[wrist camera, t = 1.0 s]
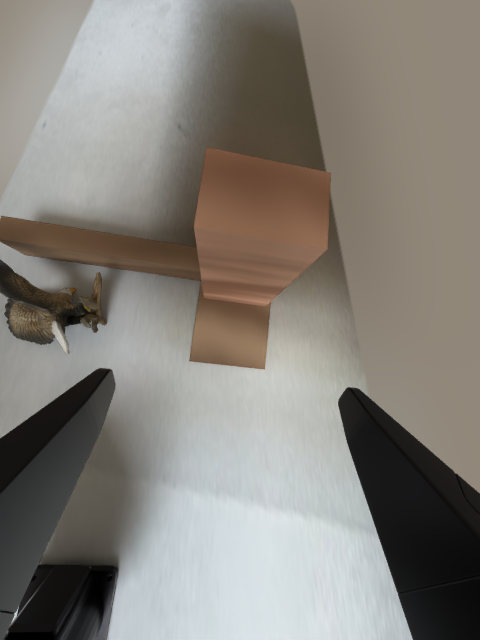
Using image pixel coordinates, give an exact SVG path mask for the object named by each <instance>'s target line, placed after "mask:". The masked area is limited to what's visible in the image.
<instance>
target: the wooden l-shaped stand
mask: <svg viewBox="0 0 480 640" xmlns="http://www.w3.org/2000/svg"><path fill="white" fill-rule="evenodd" d="M330 181H331V173H329V172H324V171H319V170H314V169H310V168H305V167H300V166H295V165H290V164H285V163H281V162H276V161H271V160H266V159H261V158H257V157H252V156H247V155H242V154H237V153H233V152H228V151H223V150H218V149H213V148H209V147H207V148H206V154H205V160H204V167H203V173H202V179H201V185H200V191H199V198H198V204H197V210H196V216H195V223H194V231H195V238H196V245H197V247H191V246H185V245H179V244H173V243H166V242H160V241H154V240H148V239H142V238H135V237H129V236H123V235H117V234H111V233H104V232H98V231H92V230H86V229H80V228H73V227H67V226H61V225H55V224H49V223H42V222H36V221H30V220H24V219H18V218H11V217H5V216H1V219H0V242H2V243H4V244H6V245H8V246H9V247H11V248H13V249H15V250H17V251H19V252H21V253H22V254H24V255H29V256H36V257H43V258H50V259H57V260H63V261H70V262H77V263H84V264H91V265H98V266H104V267H111V268H118V269H125V270H132V271H139V272H145V273H152V274H159V275H166V276H173V277H180V278H186V279H193V280H200V281H201V286H200V293H199V299H198V306H197V313H196V320H195V326H194V333H193V340H192V347H191V353H190V360H189V361H193V362H202V363H212V364H221V365H230V366H239V367H248V368H257V369H265V361H266V350H267V339H268V328H269V317H270V306H271V301H272V300H273V299H274V298H275V297H276V296H277V295H279V294H280V293H281V292H282V291H283V290H284V289H285V288H286V287H287V286H288V285H289V284H290V283H292V282H293V281H294V280H295V279H296V278H297V277H298V276H299V275H300V274H301V273H302V272H303V271H305V270H306V269H307V268H308V267H309V266H310V265H311V264H312V263H313V262H314V261H315V260H316V259H318V258H319V257H320V256H321V255H322V254H323V253H324V252H325V251H326V250H327V245H328V224H329V203H330Z"/></svg>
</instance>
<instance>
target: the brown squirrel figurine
mask: <svg viewBox="0 0 480 640" xmlns="http://www.w3.org/2000/svg"><path fill="white" fill-rule="evenodd" d="M101 286H102V279H101V274H100V273H96V277H95V281H94V287H93V295H92V296H91V297H89V298H83V297H79V298H80V300H81V302H82V303H79V304H76V305H74V304H72V294H73V292H74V291H75V290H76V289H75V288H71V289H67V288H63V289H62V290H61V291H60V292H59V293H47V292H45V291H42V290H40V289H38V288H36V287H34V286H33V285H32V284H30V283H29V282H28V281H27V280H26V279H25V278H23V277H22V276H20V275H18V274H16V273H15V272H14V271H13V270H12V269H11V268H10V267H9V266H8V265H7V264H6V263H4V262H3V261H2V260H0V293H1V294H3V295H5V296H6V297H7V298H9V299H8V303H7V304H6V305H5V308H6V312H5V313H4V314H5V316H6V317H7V318H8V320H7V324H9V327H8V328H9V329H10V332H12V333H13V335H14V336H15V337H16V338H20V339H22V340H26V341H30V342H35V343H36V344H40V345H42V344H51V343H52V342H53V338H55V337H56V338H57V340H58V341H59V343H60V344H61V346H62V348H63V349H64V351H65V352H66V354H69V349H68V347H69V346H68V342H67V340H66V337H65V327H66V326H69V325H74V324H80V323H83V324H84V325H85V326H86V327H89V328H90V327H91V324H90V323H89V322H91V321H92V330H93V332H94V333H96V332H97V331H98V328H97V324H98V323H101V324H102V325H106V324H107V323H106V321H105V320H103V317H102V315H101V308H100V302H101Z"/></svg>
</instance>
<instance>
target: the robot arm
mask: <svg viewBox="0 0 480 640" xmlns="http://www.w3.org/2000/svg"><path fill="white" fill-rule="evenodd" d="M114 391H115V380H114V375H113V371H112V370H111V369H105V368H99V369H97V370H95V371H94V372H92V373H91V374H90V375H88V376H87V377H86V378H84V379H83V380H81V381H80V382H79V383H77V384H76V385H74V386H73V387H72V388H70V389H69V390H67V391H66V392H65V393H63V394H62V395H60V396H59V397H58V398H56V399H55V400H53V401H52V402H51V403H49V404H48V405H47V406H45V407H44V408H42V409H41V410H40V411H38V412H37V413H35V414H34V415H33V416H31V417H30V418H28V419H27V420H26V421H24V422H23V423H21V424H20V425H19V426H17V427H16V428H14V429H13V430H12V431H10V432H9V433H7V434H6V435H5V436H3V437H2V438H1V439H0V640H106V638H107V632H108V627H109V621H110V615H111V609H112V603H113V598H114V592H115V586H116V580H117V575H118V570H117V568H116V567H114V566H79V565H38V564H39V562H40V560H41V557H42V555H43V553H44V551H45V549H46V547H47V545H48V543H49V540H50V538H51V536H52V534H53V532H54V530H55V528H56V526H57V523H58V521H59V519H60V517H61V515H62V513H63V511H64V509H65V506H66V504H67V502H68V500H69V498H70V496H71V494H72V491H73V489H74V487H75V485H76V483H77V481H78V479H79V477H80V474H81V472H82V470H83V468H84V466H85V464H86V462H87V460H88V457H89V455H90V453H91V451H92V449H93V447H94V445H95V443H96V440H97V438H98V436H99V434H100V431H101V428H102V426H103V423H104V420H105V417H106V414H107V411H108V408H109V405H110V403H111V400H112V397H113V394H114ZM338 406H339V410H340V414H341V419H342V423H343V427H344V432H345V436H346V440H347V443H348V447H349V450H350V453H351V456H352V459H353V462H354V465H355V468H356V471H357V474H358V477H359V480H360V483H361V486H362V489H363V492H364V495H365V498H366V501H367V504H368V506H369V509H370V512H371V515H372V518H373V521H374V524H375V527H376V530H377V533H378V536H379V539H380V542H381V545H382V548H383V551H384V554H385V557H386V560H387V563H388V566H389V569H390V572H391V575H392V578H393V581H394V584H395V587H396V590H397V592H398V596H399V599H400V602H401V605H402V608H403V611H404V614H405V617H406V620H407V623H408V626H409V629H410V632H411V635H412V638H413V640H480V493H479V492H477V491H476V490H475V489H474V488H473V487H471V486H470V485H469V484H468V483H467V482H466V481H464V480H463V479H462V478H461V477H460V476H459V475H458V474H455V473H454V471H453V470H452V469H450V468H449V467H448V466H447V465H446V464H445V463H444V462H443V461H441V460H440V459H439V458H438V457H437V456H435V455H434V454H433V453H432V452H431V451H430V450H429V449H428V448H426V447H425V446H424V445H423V444H422V443H420V442H419V441H418V440H417V439H416V438H415V437H414V436H413V435H411V434H410V433H409V432H408V431H407V430H405V429H404V428H403V427H402V426H401V425H400V424H399V423H397V422H396V421H395V420H394V419H393V418H392V417H391V416H389V415H388V414H387V413H386V412H385V411H384V410H383V409H381V408H380V407H379V406H378V405H377V404H376V403H375V402H373V401H372V400H371V399H370V398H369V397H368V396H366V395H365V394H364V393H363V392H362V391H361V390H359V389H358V388H351V387H348V388H346V389H345V391H344V392H343V394H342V395H341V397H340V398H339V401H338ZM34 574H36V575H37V576H34ZM109 574H110V575H112V577H109V576H108V575H109ZM19 604H20V605H19ZM18 606H19V609H18ZM17 609H18V613H17V617H16V618H15V619H14V621H13V622H12V620H13V618H14V613H15V612H16V611H17ZM11 622H12V623H11ZM10 624H11V625H10Z"/></svg>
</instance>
